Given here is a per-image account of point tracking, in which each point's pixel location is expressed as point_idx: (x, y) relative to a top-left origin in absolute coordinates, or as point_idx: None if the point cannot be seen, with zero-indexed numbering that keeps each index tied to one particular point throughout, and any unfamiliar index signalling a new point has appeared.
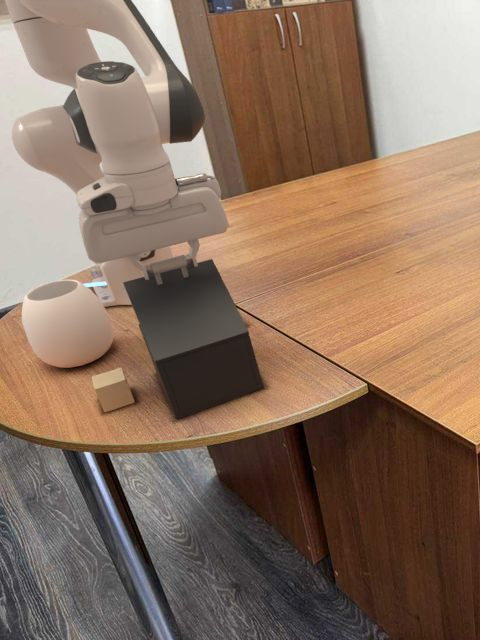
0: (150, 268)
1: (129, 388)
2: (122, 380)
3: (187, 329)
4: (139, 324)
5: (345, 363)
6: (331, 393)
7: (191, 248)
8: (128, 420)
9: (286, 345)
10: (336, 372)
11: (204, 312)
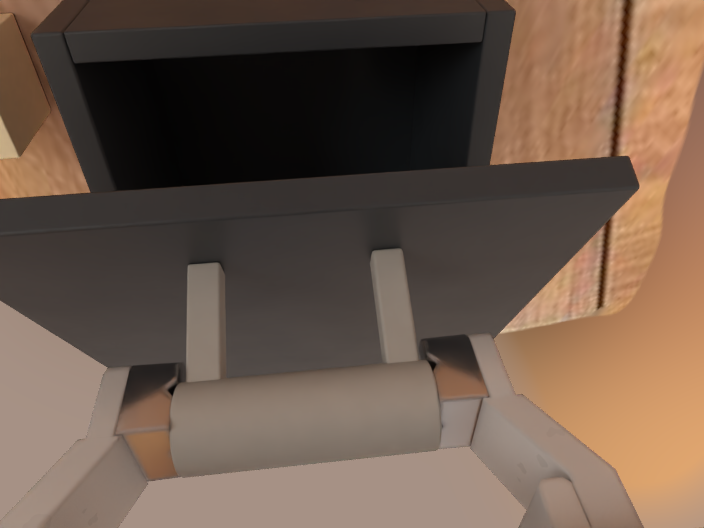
0: (174, 476)
1: (27, 108)
2: (8, 157)
3: (284, 370)
4: (36, 42)
5: (624, 231)
6: (523, 313)
7: (525, 462)
8: (51, 191)
9: (583, 41)
10: (583, 254)
11: (370, 347)
